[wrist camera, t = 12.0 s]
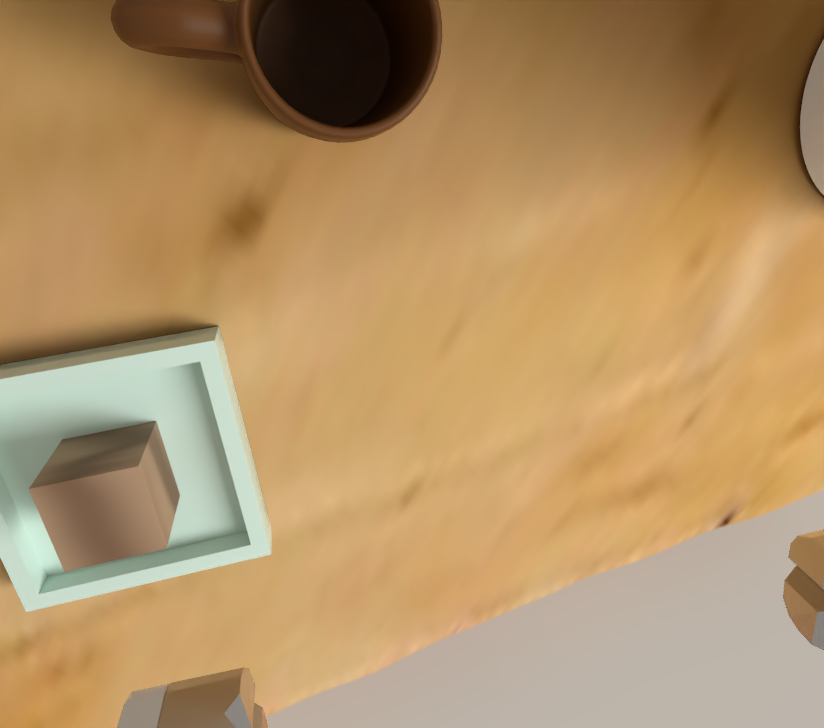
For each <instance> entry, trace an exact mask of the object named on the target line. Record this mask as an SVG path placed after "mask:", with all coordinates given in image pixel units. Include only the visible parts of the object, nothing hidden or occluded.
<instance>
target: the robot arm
mask: <svg viewBox="0 0 824 728" xmlns="http://www.w3.org/2000/svg"><path fill="white" fill-rule="evenodd" d="M800 138H801V147H802V153H803V157H804V161H805V164H806V167H807V170H808V172H809V174H810V177H811V178H812V180H813V182H814V184H815V185H816V187H817V188H818V189H819V191H820V192H821V193H822V194H823V195H824V39H823V41H822V43H821V45H820V47H819V49H818V51H817V54H816V56H815V58H814V61H813V64H812V66H811V69H810V72H809V75H808V78H807V82H806V86H805V90H804V95H803V100H802V107H801V116H800ZM789 558H790V560H791V561H792V562H793V563H794V565H795V566H796V567H795V568H794V569H793V571H792V572H791V573H790V574H789V576H788V577H787V578H786V579H785V584H784V594H783V598H784V602H785V605H786V608H787V611H788V614H789V616H790V618H791V619H792V621H793V623H794V624H795V626H796V627H797V629H798V630H799V632H800V633H801V634H802V635H803V636H804V637H805V638H806V639H807V640H808V641H809V642H810V643H811V644H812V645H814V646H816V647H818V648H820V649H823V650H824V530H819V531H816V532H812V533H807V534H804V535H799V536H797V537H796V538H795V539H794V541H793V542H792V543H791V546H790V551H789ZM254 695H255V683H254V681H253V678H252V675H251V673H250V670H249V668H240V669H235V670H230V671H226V672H221V673H216V674H211V675H206V676H202V677H197V678H192V679H187V680H183V681H178V682H173V683H171V684H166V685H162V686H157V687H152V688H148V689H143V690H138V691H134V692H132V693H131V695H130V696H129V698H128V699H127V701H126V702H125V704H124V706H123V710H122V713H121V716H120V720H119V723H118V726H117V728H268V725H267V720H266V717H265V713H264V710H263V708H262V707H261V706H259V705H257V704H255V703H254Z"/></svg>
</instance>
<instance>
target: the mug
mask: <svg viewBox="0 0 824 728" xmlns="http://www.w3.org/2000/svg"><path fill="white" fill-rule="evenodd" d="M111 21H112V24H113V28H114V30H115V32H116V33H117V35H118V36H119V37H120V39H121V40H122V41H123V42H125V43H126V44H127V45H129V46H130V47H133V48H136V49H139V50H143V51H147V52H151V53H157V54H163V55H169V56H177V57H187V58H198V59H211V60H222V61H231V62H238V63H242V64H244V66H245V69H246V71H247V74H248V76H249V79H250V81H251V83H252V85H253V87H254V89H255V91H256V93H257V94H258V96H259V97H260V99H261V100H262V102H263V103H264V105H265V106H266V107H267V108H268V109H269V111H270V112H271V113H272V114H273V115H274V116H275V117H276V118H277V119H279V120H280V121H281V122H282V123H284V124H285V125H286V126H288V127H290V128H291V129H293V130H295V131H297V132H299V133H301V134H304V135H306V136H309V137H312V138H316V139H320V140H324V141H330V142H354V141H360V140H365V139H368V138H371V137H374V136H377V135H379V134H381V133H383V132H385V131H387V130H389V129H391V128H392V127H394V126H395V125H397V124H398V123H400V122H401V121H402V120H403V119H405V118H406V117H407V116H408V115H409V114H410V113H411V112H412V111H413V110H414V109H415V108H416V106H417V105H418V104H419V103H420V102H421V100H422V99H423V97H424V96H425V94H426V93H427V91H428V89H429V87H430V85H431V83H432V81H433V78H434V75H435V72H436V69H437V66H438V62H439V58H440V53H441V44H442V21H441V12H440V7H439V2H438V0H239V1H237V2H236V3H235V2H223V1H217V0H117V1H116V2H115V4H114V6H113V8H112V12H111Z"/></svg>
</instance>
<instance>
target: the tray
mask: <svg viewBox="0 0 824 728" xmlns="http://www.w3.org/2000/svg"><path fill="white" fill-rule="evenodd" d="M153 421H156V422H157V425H158V428H159V431H160V434H161V437H162V440H163V443H164V447H165V450H166V453H167V456H168V459H169V462H170V465H171V468H172V471H173V475H174V478H175V481H176V484H177V487H178V490H179V493H180V498H179V502H178V506H177V510H176V514H175V518H174V522H173V525H172V529H171V533H170V537H169V541H168V545H167V549H163V550H158V551H154V552H150V553H145V554H141V555H136V556H132V557H128V558H123V559H119V560H115V561H110V562H106V563H101V564H97V565H93V566H88V567H84V568H80V569H75V570H71V571H66V572H64V569H63V567H62V565H61V563H60V560H59V558H58V556H57V553H56V551H55V549H54V546H53V544H52V542H51V540H50V537H49V535H48V533H47V530H46V528H45V526H44V523H43V521H42V519H41V517H40V514H39V512H38V510H37V507H36V505H35V503H34V500H33V498H32V496H31V494H30V491H29V488H30V486H31V485H32V483H33V482H34V480H35V479H36V477H37V476H38V474H39V473H40V471H41V470H42V468H43V467H44V465H45V464H46V463H47V461H48V460H49V458H50V457H51V455H52V454H53V452H54V451H55V449H56V448H57V446H58V445H59V443H60V442H61V440H62V439H67V438H72V437H78V436H83V435H88V434H93V433H98V432H103V431H108V430H113V429H118V428H123V427H128V426H133V425H138V424H143V423H148V422H153ZM270 554H271V526H270V522H269V518H268V515H267V511H266V507H265V503H264V499H263V495H262V491H261V487H260V484H259V480H258V476H257V472H256V468H255V464H254V460H253V457H252V453H251V449H250V445H249V441H248V437H247V433H246V430H245V426H244V422H243V418H242V414H241V410H240V406H239V402H238V399H237V395H236V391H235V387H234V383H233V379H232V375H231V372H230V368H229V364H228V360H227V356H226V352H225V348H224V344H223V341H222V337H221V333H220V329H219V326H216V327H211V328H205V329H199V330H194V331H188V332H182V333H177V334H171V335H166V336H160V337H154V338H149V339H143V340H137V341H132V342H126V343H121V344H115V345H109V346H104V347H98V348H92V349H87V350H81V351H76V352H70V353H64V354H59V355H53V356H47V357H42V358H36V359H31V360H25V361H19V362H14V363H8V364H2V365H0V558H1V560H2V562H3V564H4V566H5V568H6V571H7V573H8V575H9V577H10V579H11V581H12V583H13V585H14V587H15V589H16V591H17V593H18V595H19V598H20V600H21V602H22V604H23V606H24V608H25V610H26V612H28V611H33V610H37V609H41V608H45V607H50V606H54V605H58V604H62V603H67V602H71V601H75V600H79V599H84V598H88V597H92V596H96V595H100V594H105V593H109V592H113V591H117V590H122V589H126V588H130V587H134V586H139V585H143V584H147V583H151V582H156V581H160V580H164V579H168V578H173V577H177V576H181V575H185V574H190V573H194V572H198V571H202V570H206V569H211V568H215V567H219V566H223V565H228V564H232V563H236V562H240V561H245V560H249V559H253V558H257V557H262V556H266V555H270Z"/></svg>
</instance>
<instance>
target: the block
mask: <svg viewBox="0 0 824 728" xmlns="http://www.w3.org/2000/svg"><path fill="white" fill-rule="evenodd" d="M29 491H30V494H31V496H32V498H33V500H34V503H35V505H36V507H37V510H38V512H39V514H40V517H41V519H42V521H43V523H44V526H45V528H46V530H47V533H48V535H49V537H50V540H51V542H52V544H53V546H54V549H55V551H56V553H57V556H58V558H59V560H60V563H61V565H62V567H63V569H64V572H66V571H71V570H75V569H80V568H84V567H88V566H93V565H97V564H101V563H106V562H110V561H115V560H119V559H123V558H128V557H132V556H136V555H141V554H145V553H150V552H154V551H158V550H163V549H167V545H168V541H169V537H170V533H171V529H172V525H173V522H174V518H175V514H176V510H177V506H178V502H179V498H180V493H179V490H178V487H177V484H176V481H175V478H174V475H173V471H172V468H171V465H170V462H169V459H168V456H167V453H166V450H165V447H164V443H163V440H162V437H161V434H160V431H159V428H158V425H157V422H156V421H153V422H148V423H143V424H138V425H133V426H128V427H123V428H118V429H113V430H108V431H103V432H98V433H93V434H88V435H83V436H78V437H72V438H67V439H62V440H61V442H60V443H59V445H58V446H57V448H56V449H55V451H54V452H53V454H52V455H51V457H50V458H49V460H48V461H47V463H46V464H45V465H44V467H43V468H42V470H41V471H40V473H39V474H38V476H37V477H36V479H35V480H34V482H33V483H32V485H31V486H30V488H29Z"/></svg>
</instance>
